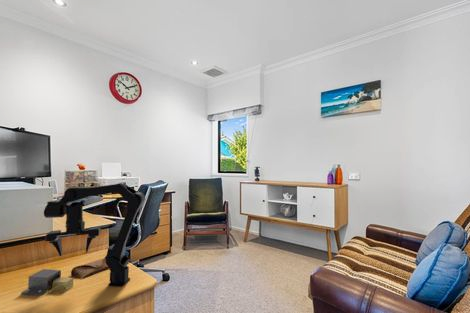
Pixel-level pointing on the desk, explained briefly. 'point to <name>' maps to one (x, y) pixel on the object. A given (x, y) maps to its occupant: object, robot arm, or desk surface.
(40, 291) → the flanged grey block
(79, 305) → the desk surface
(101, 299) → the desk surface
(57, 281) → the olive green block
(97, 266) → the sunglasses case
